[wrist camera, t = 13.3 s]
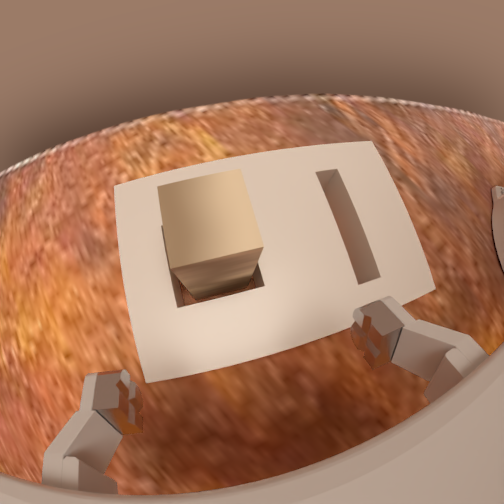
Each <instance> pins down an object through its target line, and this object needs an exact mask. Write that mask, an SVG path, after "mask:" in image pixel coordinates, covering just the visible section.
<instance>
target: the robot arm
mask: <svg viewBox="0 0 504 504" xmlns="http://www.w3.org/2000/svg"><path fill="white" fill-rule="evenodd" d="M492 197H493V203H494V205H493V213H492V227H493V235H494V240H495V245H496V249H497V253H498V256H499V260H500V263H501V266H502V268H503V271H504V187H501V186H495V187H493V188H492ZM353 318H354V320H355V322H354V323H353V324H352V326H351V337H352V340H353V343H354V345H355V346H356V347H357V349H359V350H361V351H364V359H365V360H366V361H367V363H368V364H369V366H370V367H371V368H372V370H373V369H375V368H377V367H379V366H381V365H384V364H386V363H388V362H390V361H391V362H392V363H394V364H396V365H398V366H399V367H401V368H403V369H405V370H407V371H409V372H411V373H413V374H415V375H417V376H419V377H421V378H423V379H425V380H427V381H429V382H430V383H429V384H428V386H427V388H426V389H425V391H424V395H425V397H426V398H427V399H428V401H429V402H430V404H429V405H427V406H426V407H425V408H423V409H421V410H420V411H418V412H417V413H415V414H414V415H412V416H411V417H409V418H407V419H406V420H404V421H402V422H401V423H399V424H397V425H396V426H394V427H392V428H390V429H388V430H387V431H385V432H383V433H381V434H379V435H377V436H375V437H373V438H372V439H370V440H368V441H366V442H364V443H361V444H359V445H357V446H355V447H353V448H351V449H349V450H346V451H344V452H342V453H339V454H337V455H335V456H332V457H330V458H327V459H325V460H322V461H320V462H317V463H314V464H312V465H309V466H306V467H303V468H300V469H297V470H294V471H291V472H288V473H284V474H281V475H278V476H274V477H270V478H267V479H263V480H259V481H255V482H250V483H246V484H241V485H236V486H231V487H226V488H220V489H214V490H207V491H199V492H191V493H180V494H165V495H118V489H117V482H116V481H115V480H113V479H112V478H110V477H108V476H106V475H104V473H105V471H106V469H107V467H108V465H109V463H110V461H111V459H112V457H113V455H114V453H115V451H116V449H117V447H118V445H119V443H120V441H121V439H122V437H123V436H122V435H129V434H139V433H143V417H142V416H141V414H140V413H139V412H140V410H141V409H142V407H143V399H142V395H141V391H140V389H139V387H138V386H137V384H136V383H135V382H132V381H130V375H129V373H128V372H127V371H126V370H116V371H107V372H98V373H88V374H87V375H86V376H85V380H84V385H83V391H82V397H81V403H80V410H79V411H76V412H75V413H74V414H73V416H72V417H71V418H70V420H69V421H68V422H67V424H66V425H65V426H64V427H63V429H62V430H61V431H60V433H59V434H58V435H57V437H56V438H55V439H54V441H53V442H52V443H51V445H50V446H49V447H48V449H47V450H46V451H45V453H44V460H43V471H42V484H40V483H36V482H32V481H28V480H25V479H21V478H18V477H14V476H11V475H8V474H5V473H2V472H0V504H504V342H503V343H502V344H501V345H500V346H499V347H498V348H497V349H496V350H495V351H494V352H493V353H492V354H491V355H490V356H489V355H488V354H487V353H486V352H485V351H484V350H483V349H482V348H481V347H480V346H479V345H478V344H477V343H476V342H475V341H474V340H473V339H472V338H471V337H470V336H469V335H467V334H464V333H460V332H457V331H454V330H451V329H448V328H445V327H442V326H438V325H435V324H432V323H429V322H426V321H423V320H420V319H418V320H415V319H414V318H413V317H412V316H411V315H410V314H409V313H408V312H407V311H406V310H405V309H404V308H403V307H402V306H401V305H400V304H399V303H398V302H397V301H396V300H395V299H394V298H393V297H391V296H386V297H384V298H382V299H379V300H377V301H374V302H371V303H369V304H366V305H364V306H361V307H359V308H356V309H355V310H354V312H353Z"/></svg>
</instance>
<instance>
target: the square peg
mask: <svg viewBox="0 0 504 504" xmlns="http://www.w3.org/2000/svg"><path fill="white" fill-rule="evenodd" d="M157 189H158V197H159V204H160V211H161V217H162V224H163V230H164V236H165V242H166V248H167V253H168V259H169V264H170V269H171V270H172V271H173V273H174V274H175V275H176V276H177V278H178V279H179V280H180V281H181V282H182V284H183V285H184V286H185V287H186V289H187V290H188V291H189V292H190V293H191V295H192V296H193V297H194V298H195V299H196V300H199V299H203V298H207V297H211V296H215V295H220V294H224V293H228V292H232V291H236V290H240V289H244V288H247V287H248V284H249V282H250V280H251V277H252V275H253V272H254V270H255V267H256V265H257V263H258V260H259V258H260V255H261V253H262V250H263V248H264V245H263V241H262V238H261V235H260V231H259V228H258V225H257V221H256V218H255V215H254V211H253V208H252V205H251V201H250V198H249V195H248V192H247V188H246V185H245V182H244V178H243V175H242V172H241V169H235V170H230V171H225V172H220V173H215V174H210V175H205V176H200V177H196V178H191V179H187V180H182V181H178V182H174V183H169V184H165V185H161V186H157Z"/></svg>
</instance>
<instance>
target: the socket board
mask: <svg viewBox="0 0 504 504" xmlns="http://www.w3.org/2000/svg"><path fill="white" fill-rule="evenodd" d="M235 169H241V172H242V175H243V178H244V182H245V185H246V188H247V192H248V195H249V198H250V201H251V205H252V208H253V211H254V215H255V218H256V221H257V225H258V228H259V231H260V235H261V238H262V241H263V245H264V248H263V250H262V253H261V255H260V258H259V260H258V263H257V265H256V267H255V270H254V272H253V275H252V276H253V280H254V283H255V287H256V289H252V290H248V291H244V292H241V293H237V294H233V295H229V296H225V297H221V298H217V299H213V300H209V301H205V302H201V303H196V304H192V305H188V306H185V305H184V301H183V296H182V292H181V288H180V283H179V279H178V278H177V276H176V275H175V274H174V273H173V271H172V270H171V269H170V264H169V259H168V253H167V248H166V242H165V236H164V230H163V224H162V217H161V211H160V204H159V197H158V189H157V186H161V185H165V184H169V183H174V182H178V181H182V180H187V179H191V178H196V177H200V176H205V175H210V174H215V173H220V172H225V171H230V170H235ZM114 196H115V212H116V225H117V236H118V245H119V254H120V262H121V269H122V276H123V282H124V288H125V294H126V300H127V305H128V311H129V316H130V321H131V325H132V330H133V334H134V339H135V343H136V347H137V351H138V355H139V359H140V363H141V367H142V370H143V374H144V378H145V381H146V383H151V382H157V381H162V380H168V379H173V378H178V377H183V376H188V375H193V374H197V373H202V372H206V371H211V370H215V369H219V368H223V367H227V366H231V365H235V364H239V363H243V362H246V361H250V360H254V359H257V358H261V357H264V356H268V355H271V354H274V353H278V352H281V351H284V350H287V349H290V348H294V347H297V346H300V345H303V344H306V343H309V342H311V341H314V340H317V339H320V338H323V337H326V336H328V335H331V334H334V333H337V332H339V331H342V330H344V329H347V328H350V327H351V326H352V324H353V323H354V322H355V320H354V318H353V312H354V310H355V309H356V308H359V307H361V306H364V305H366V304H369V303H371V302H374V301H377V300H379V299H382V298H384V297H386V296H391V297H393V298H394V299H395V300H396V301H397V302H398V303H399V304H400V305H401V306H402V305H404V304H406V303H408V302H410V301H412V300H414V299H417V298H419V297H421V296H423V295H425V294H427V293H429V292H431V291H433V290H435V289H436V288H435V284H434V281H433V278H432V275H431V272H430V269H429V266H428V263H427V260H426V257H425V254H424V252H423V249H422V246H421V244H420V241H419V238H418V236H417V233H416V231H415V228H414V226H413V223H412V221H411V219H410V216H409V214H408V212H407V209H406V207H405V205H404V203H403V201H402V198H401V196H400V194H399V192H398V190H397V188H396V186H395V184H394V182H393V180H392V178H391V176H390V174H389V172H388V170H387V168H386V166H385V164H384V162H383V160H382V158H381V157H380V155H379V153H378V151H377V149H376V148H375V146H374V144H373V142H372V141H363V142H347V143H335V144H324V145H314V146H305V147H297V148H289V149H281V150H274V151H267V152H261V153H255V154H248V155H243V156H237V157H231V158H226V159H221V160H216V161H211V162H206V163H201V164H197V165H192V166H188V167H183V168H179V169H175V170H171V171H167V172H163V173H159V174H155V175H151V176H147V177H144V178H140V179H136V180H133V181H129V182H126V183H122V184H119V185H116V186H114Z"/></svg>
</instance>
